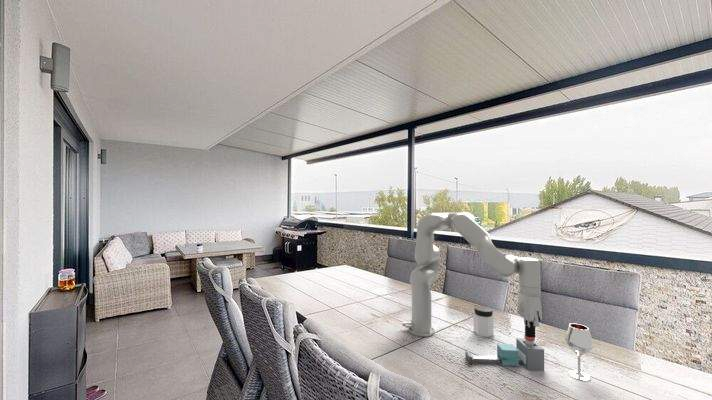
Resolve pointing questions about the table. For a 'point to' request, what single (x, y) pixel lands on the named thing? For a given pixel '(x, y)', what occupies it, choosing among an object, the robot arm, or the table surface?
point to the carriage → (508, 354)
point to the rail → (485, 359)
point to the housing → (530, 355)
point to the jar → (483, 321)
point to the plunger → (529, 340)
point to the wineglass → (579, 346)
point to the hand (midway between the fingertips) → (530, 336)
